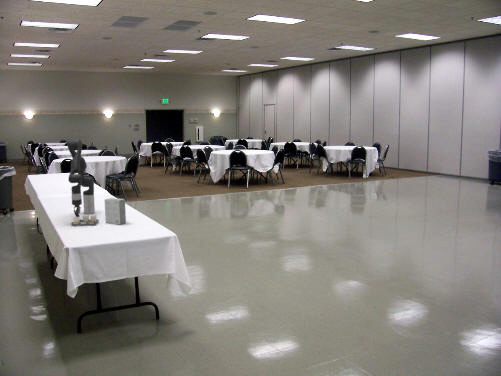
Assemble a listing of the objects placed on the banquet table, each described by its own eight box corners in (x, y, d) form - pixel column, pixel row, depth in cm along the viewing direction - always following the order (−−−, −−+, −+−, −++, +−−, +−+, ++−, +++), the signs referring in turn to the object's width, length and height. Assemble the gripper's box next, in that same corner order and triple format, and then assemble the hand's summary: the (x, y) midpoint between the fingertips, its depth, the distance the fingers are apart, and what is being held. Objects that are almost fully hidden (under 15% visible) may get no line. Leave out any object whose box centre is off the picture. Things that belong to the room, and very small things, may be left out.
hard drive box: (126, 222, 402) (125, 199, 399) (120, 224, 396) (119, 200, 392) (111, 221, 409) (110, 197, 406) (105, 223, 402) (104, 199, 399)
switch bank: (75, 222, 403) (75, 219, 403) (98, 222, 405) (98, 218, 404) (71, 226, 391) (71, 222, 390) (95, 225, 393) (95, 222, 392)
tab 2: (84, 220, 402) (83, 214, 402) (89, 220, 403) (88, 214, 402) (83, 221, 398) (82, 215, 398) (88, 221, 399) (87, 215, 398)
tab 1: (74, 222, 396) (74, 216, 395) (79, 222, 396) (79, 216, 395) (73, 223, 392) (73, 217, 391) (78, 223, 392) (78, 217, 391)
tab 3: (91, 220, 403) (91, 214, 402) (96, 220, 403) (96, 214, 403) (90, 221, 399) (90, 215, 398) (95, 221, 399) (95, 215, 399)
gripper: (73, 197, 401) (75, 218, 404) (69, 200, 388) (70, 221, 391) (83, 197, 402) (84, 217, 405) (79, 200, 389) (80, 221, 392)
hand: (77, 219), depth 398 cm, fingers closed
